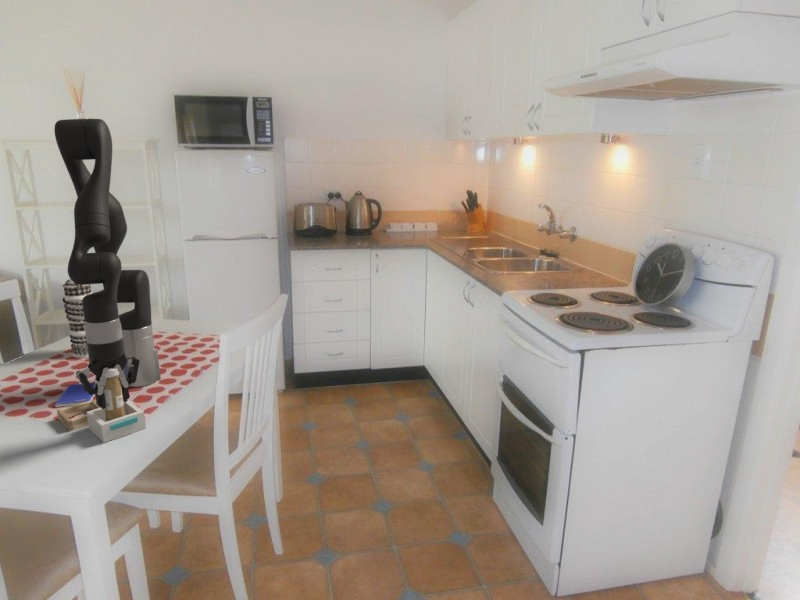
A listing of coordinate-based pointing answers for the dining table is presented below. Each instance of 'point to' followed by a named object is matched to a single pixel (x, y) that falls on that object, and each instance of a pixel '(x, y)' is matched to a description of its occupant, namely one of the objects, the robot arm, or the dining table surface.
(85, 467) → the dining table surface
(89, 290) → the decorative candle
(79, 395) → the hard drive
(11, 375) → the dining table surface
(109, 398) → the sprinkles bottle
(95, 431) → the block
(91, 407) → the wooden square frame
